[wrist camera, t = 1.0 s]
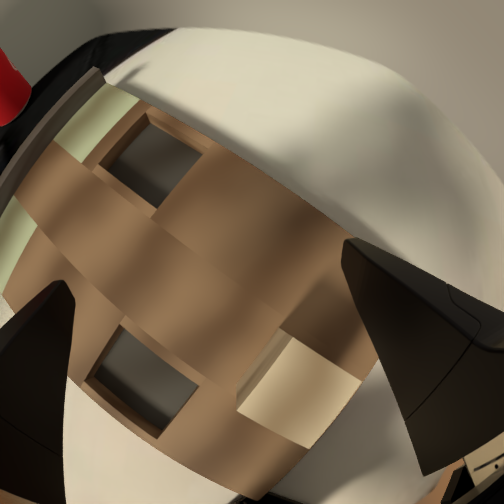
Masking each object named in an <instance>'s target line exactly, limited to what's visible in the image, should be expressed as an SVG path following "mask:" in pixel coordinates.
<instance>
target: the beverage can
mask: <svg viewBox="0 0 504 504" xmlns="http://www.w3.org/2000/svg"><path fill="white" fill-rule="evenodd" d="M30 95H31V86H30V85H29V83H28V82H27V81H26V80H25V79H24V77H23V76H22V75H21V74H20V72H19V71H18V70H17V69H16V67H15V66H14V65H13V64H12V62H11V61H10V60H9V58H8V57H7V56H6V55H5V53H4V52H3V51H2V49H1V48H0V126H4V125H6V124H8V123H10V122H12V121H13V120H14V119H16V118H17V117H18V116H19V115H20V114H21V112H22V111H23V110H24V108H25V107H26V105H27V103H28V101H29V98H30Z"/></svg>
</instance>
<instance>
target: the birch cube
mask: <svg viewBox="0 0 504 504" xmlns="http://www.w3.org/2000/svg"><path fill="white" fill-rule="evenodd" d="M361 382H362V381H360V380H359V379H357V378H355V377H354V376H352V375H351V374H349V373H347V372H346V371H344V370H343V369H341V368H339V367H338V366H336V365H335V364H333V363H332V362H330V361H329V360H327V359H325V358H324V357H322V356H321V355H319V354H318V353H316V352H315V351H313V350H312V349H310V348H309V347H307V346H306V345H304V344H303V343H301V342H300V341H298V340H297V339H295V338H294V337H292V336H291V335H289V334H288V333H286V332H285V331H283V330H282V329H280V328H279V327H278V329H277V330H276V332H275V333H274V334H273V336H272V337H271V339H270V340H269V341H268V343H267V344H266V345H265V347H264V348H263V349H262V351H261V352H260V354H259V355H258V356H257V358H256V359H255V360H254V362H253V363H252V364H251V366H250V367H249V368H248V369H247V371H246V372H245V373H244V375H243V376H242V377H241V379H240V380H239V381H238V382H237V384H236V408H237V411H238V412H239V413H241V414H243V415H245V416H246V417H248V418H250V419H251V420H253V421H255V422H257V423H259V424H260V425H262V426H264V427H266V428H268V429H270V430H271V431H273V432H275V433H277V434H279V435H281V436H283V437H285V438H287V439H289V440H291V441H293V442H295V443H297V444H299V445H301V446H303V447H305V448H308V449H310V448H311V446H312V445H313V444H314V443H315V442H316V441H317V440H318V438H319V437H320V436H321V435H322V434H323V432H324V431H325V430H326V429H327V428H328V426H329V425H330V424H331V423H332V421H333V420H334V419H335V418H336V416H337V415H338V414H339V413H340V411H341V410H342V409H343V407H344V406H345V405H346V403H347V402H348V401H349V399H350V398H351V397H352V395H353V394H354V392H355V391H356V390H357V388H358V387H359V385H360V384H361Z"/></svg>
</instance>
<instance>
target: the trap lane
mask: <svg viewBox="0 0 504 504" xmlns="http://www.w3.org/2000/svg"><path fill="white" fill-rule="evenodd" d="M348 238H355V237H353V236H352V235H351V234H350V233H348V232H347V231H346V230H344V229H343V228H342V227H340V226H339V225H338V224H336V223H335V222H334V221H332V220H331V219H330V218H328V217H327V216H326V215H324V214H323V213H321V212H320V211H319V210H317V209H316V208H315V207H313V206H312V205H310V204H309V203H308V202H306V201H305V200H303V199H302V198H301V197H299V196H298V195H296V194H295V193H293V192H292V191H290V190H289V189H288V188H286V187H285V186H283V185H282V184H280V183H279V182H277V181H276V180H274V179H273V178H271V177H270V176H268V175H267V174H265V173H264V172H262V171H261V170H259V169H258V168H256V167H255V166H253V165H252V164H250V163H249V162H247V161H245V160H244V159H242V158H241V157H239V156H238V155H236V154H234V153H233V152H231V151H230V150H228V149H226V148H225V147H223V146H221V145H220V144H218V143H217V142H215V141H213V140H212V139H210V138H208V137H207V136H205V135H203V134H202V133H200V132H198V131H196V130H195V129H193V128H191V127H190V126H188V125H186V124H184V123H183V122H181V121H179V120H177V119H176V118H174V117H172V116H170V115H168V114H167V113H165V112H163V111H161V110H159V109H157V108H155V107H154V106H152V105H150V104H148V103H146V102H144V101H142V100H140V99H138V98H136V97H135V96H133V95H131V94H129V93H127V92H125V91H123V90H121V89H119V88H117V87H115V86H112V85H110V84H108V83H106V81H105V79H104V77H103V75H102V73H101V71H100V69H98V68H96V67H93V68H91V69H90V70H89V71H88V72H87V73H86V74H85V75H84V76H83V77H82V78H81V79H79V80H78V81H77V82H76V83H75V84H74V85H73V86H72V87H71V88H70V89H69V90H68V91H67V92H66V93H65V94H64V95H63V96H62V97H61V99H60V100H59V101H58V102H57V103H56V104H55V105H54V106H53V107H52V108H51V109H50V111H49V112H48V113H47V114H46V115H45V116H44V117H43V119H42V120H41V121H40V122H39V123H38V125H37V126H36V127H35V128H34V130H33V131H32V132H31V133H30V135H29V136H28V137H27V139H26V140H25V141H24V143H23V144H22V145H21V147H20V148H19V149H18V151H17V152H16V154H15V155H14V156H13V158H12V159H11V161H10V162H9V164H8V165H7V167H6V168H5V170H4V171H3V173H2V175H1V176H0V293H1V294H2V296H3V297H4V299H5V300H6V302H7V303H8V305H9V306H10V307H11V309H12V310H13V312H14V313H15V314H16V313H17V312H18V311H19V310H20V309H21V308H23V307H24V306H25V305H26V304H27V303H28V302H29V301H30V300H31V299H33V298H34V297H35V296H36V295H37V294H38V293H39V292H41V291H42V290H43V289H44V288H45V287H46V286H48V285H49V284H50V283H51V282H52V281H54V280H61V279H62V280H64V281H65V282H66V283H67V285H68V287H69V289H70V290H71V292H72V294H73V296H74V298H75V302H76V307H75V315H74V324H73V335H72V345H71V352H70V358H69V365H68V373H67V376H68V377H69V378H70V379H71V380H72V381H73V382H74V383H75V384H76V385H77V386H78V387H79V388H81V389H82V390H83V391H84V392H85V393H86V394H87V395H88V396H89V397H90V398H91V399H92V400H94V401H95V402H96V403H97V404H98V405H99V406H100V407H102V408H103V409H104V410H105V411H106V412H108V413H109V414H110V415H111V416H112V417H114V418H115V419H116V420H117V421H119V422H120V423H121V424H122V425H124V426H125V427H126V428H128V429H129V430H130V431H132V432H133V433H134V434H136V435H137V436H139V437H140V438H141V439H143V440H144V441H146V442H147V443H149V444H150V445H151V446H153V447H154V448H156V449H157V450H159V451H161V452H162V453H164V454H165V455H167V456H168V457H170V458H172V459H173V460H175V461H177V462H178V463H180V464H182V465H183V466H185V467H187V468H189V469H190V470H192V471H194V472H196V473H198V474H200V475H201V476H203V477H205V478H207V479H209V480H211V481H213V482H215V483H217V484H219V485H221V486H223V487H225V488H228V489H230V490H232V491H234V492H236V493H239V494H241V495H243V496H246V497H248V498H251V499H253V500H256V501H258V500H259V499H261V498H262V497H263V496H264V495H265V494H266V493H267V492H268V491H269V490H271V489H272V488H273V487H274V486H275V485H276V484H277V483H278V482H279V481H280V480H281V479H282V478H283V477H284V476H285V475H286V474H287V473H288V472H289V471H290V470H291V469H292V468H293V467H294V466H295V465H296V464H297V463H298V462H299V461H300V460H301V459H302V458H303V456H304V455H305V454H306V453H307V452H308V451H309V450H310V449H311V448H312V447H313V445H314V444H315V443H316V442H317V441H318V440H319V439H320V437H321V436H322V435H323V434H324V433H325V431H326V430H327V429H328V428H329V427H330V425H331V424H332V423H333V422H334V420H335V419H336V418H337V417H338V415H339V414H340V413H341V411H342V410H343V409H344V407H345V406H346V405H347V403H348V402H349V401H350V399H351V398H352V397H353V395H354V394H355V393H356V391H357V390H358V388H359V387H360V385H361V384H362V383H363V381H364V380H365V378H366V377H367V375H368V374H369V372H370V371H371V369H372V368H373V366H374V365H375V363H376V361H377V360H378V358H379V357H378V355H377V353H376V350H375V348H374V346H373V344H372V341H371V339H370V337H369V335H368V333H367V330H366V328H365V326H364V324H363V322H362V320H361V318H360V315H359V313H358V311H357V309H356V306H355V304H354V301H353V298H352V295H351V293H350V290H349V287H348V284H347V281H346V279H345V276H344V273H343V270H342V268H341V255H342V248H343V242H344V240H345V239H348ZM278 327H279V328H280V329H282V330H283V331H285V332H286V333H288V334H289V335H291V336H292V337H294V338H295V339H297V340H298V341H300V342H301V343H303V344H304V345H306V346H307V347H309V348H310V349H312V350H313V351H315V352H316V353H318V354H319V355H321V356H322V357H324V358H325V359H327V360H329V361H330V362H332V363H333V364H335V365H336V366H338V367H339V368H341V369H343V370H344V371H346V372H347V373H349V374H351V375H352V376H354V377H355V378H357V379H359V380H360V381H362V382H361V384H360V385H359V387H358V388H357V390H356V391H355V392H354V394H353V395H352V397H351V398H350V399H349V401H348V402H347V403H346V405H345V406H344V407H343V409H342V410H341V411H340V413H339V414H338V415H337V416H336V418H335V419H334V420H333V421H332V423H331V424H330V425H329V426H328V428H327V429H326V430H325V431H324V432H323V434H322V435H321V436H320V437H319V438H318V440H317V441H316V442H315V443H314V444H313V445H312V446H311V448H310V449H308V448H305V447H303V446H301V445H299V444H297V443H295V442H293V441H291V440H289V439H287V438H285V437H283V436H281V435H279V434H277V433H275V432H273V431H271V430H270V429H268V428H266V427H264V426H262V425H260V424H259V423H257V422H255V421H253V420H251V419H250V418H248V417H246V416H245V415H243V414H241V413H239V412H238V411H237V408H236V384H237V382H238V381H239V380H240V379H241V377H242V376H243V375H244V373H245V372H246V371H247V369H248V368H249V367H250V366H251V364H252V363H253V362H254V360H255V359H256V358H257V356H258V355H259V354H260V352H261V351H262V349H263V348H264V347H265V345H266V344H267V343H268V341H269V340H270V339H271V337H272V336H273V334H274V333H275V332H276V330H277V329H278Z"/></svg>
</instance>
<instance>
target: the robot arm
mask: <svg viewBox="0 0 504 504" xmlns="http://www.w3.org/2000/svg"><path fill="white" fill-rule="evenodd" d="M341 268H342V270H343V273H344V276H345V279H346V281H347V284H348V287H349V290H350V293H351V295H352V298H353V301H354V304H355V306H356V309H357V311H358V313H359V315H360V318H361V320H362V322H363V324H364V326H365V328H366V330H367V333H368V335H369V337H370V339H371V341H372V344H373V346H374V348H375V350H376V353H377V355H378V357H379V360H380V362H381V364H382V366H383V369H384V371H385V374H386V376H387V378H388V381H389V383H390V386H391V388H392V391H393V393H394V396H395V398H396V401H397V403H398V406H399V408H400V411H401V414H402V416H403V419H404V421H405V425H406V427H407V430H408V433H409V436H410V439H411V441H412V444H413V447H414V450H415V453H416V456H417V459H418V462H419V465H420V468H421V472H422V474H423V476H427V475H429V474H431V473H433V472H435V471H438V470H440V469H442V468H444V467H446V466H448V465H450V464H452V463H454V462H456V461H457V460H459V459H461V458H463V460H464V463H465V464H463V465H462V466H460V467H459V468H457V469H456V470H454V471H453V474H452V476H451V479H450V482H449V484H448V487H447V489H446V492H445V494H444V496H443V498H442V500H441V504H504V312H502V311H500V310H498V309H496V308H494V307H492V306H490V305H488V304H486V303H484V302H482V301H480V300H478V299H476V298H474V297H472V296H470V295H468V294H466V293H464V292H463V291H461V290H459V289H457V288H455V287H453V286H452V285H450V284H446V282H444V281H442V280H441V279H439V278H437V277H435V276H433V275H431V274H429V273H427V272H425V271H424V270H422V269H420V268H418V267H416V266H414V265H412V264H410V263H408V262H406V261H404V260H402V259H400V258H398V257H396V256H394V255H392V254H390V253H388V252H386V251H384V250H382V249H380V248H378V247H376V246H374V245H372V244H370V243H368V242H366V241H364V240H361V239H359V238H356V237H355V238H348V239H345V240H344V242H343V248H342V255H341ZM75 307H76V302H75V298H74V296H73V294H72V292H71V290H70V289H69V287H68V285H67V283H66V282H65V281H64V280H62V279H61V280H54V281H52V282H51V283H50V284H49V285H48V286H46V287H45V288H44V289H43V290H42V291H41V292H39V293H38V294H37V295H36V296H35V297H34V298H33V299H31V300H30V301H29V302H28V303H27V304H26V305H25V306H24V307H23V308H21V309H20V310H19V311H18V312H17V313H16V314H15V315H14V316H13V317H12V318H11V319H10V320H9V321H8V322H7V323H6V324H5V325H3V326H2V327H1V328H0V504H66V497H65V486H64V471H63V418H64V402H65V391H66V381H67V373H68V365H69V358H70V352H71V345H72V335H73V324H74V315H75ZM233 504H302V503H299V502H296V501H293V500H290V499H287V498H285V497H282V496H279V495H277V494H274V493H271V492H269V491H268V492H267V493H266V494H265V495H264V496H263V497H262V498H261V499H259V500H258V501H256V500H253V499H251V498H248V497H246V496H244V497H242V498H241V499H240V500H239V501H236V502H234V503H233Z"/></svg>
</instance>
